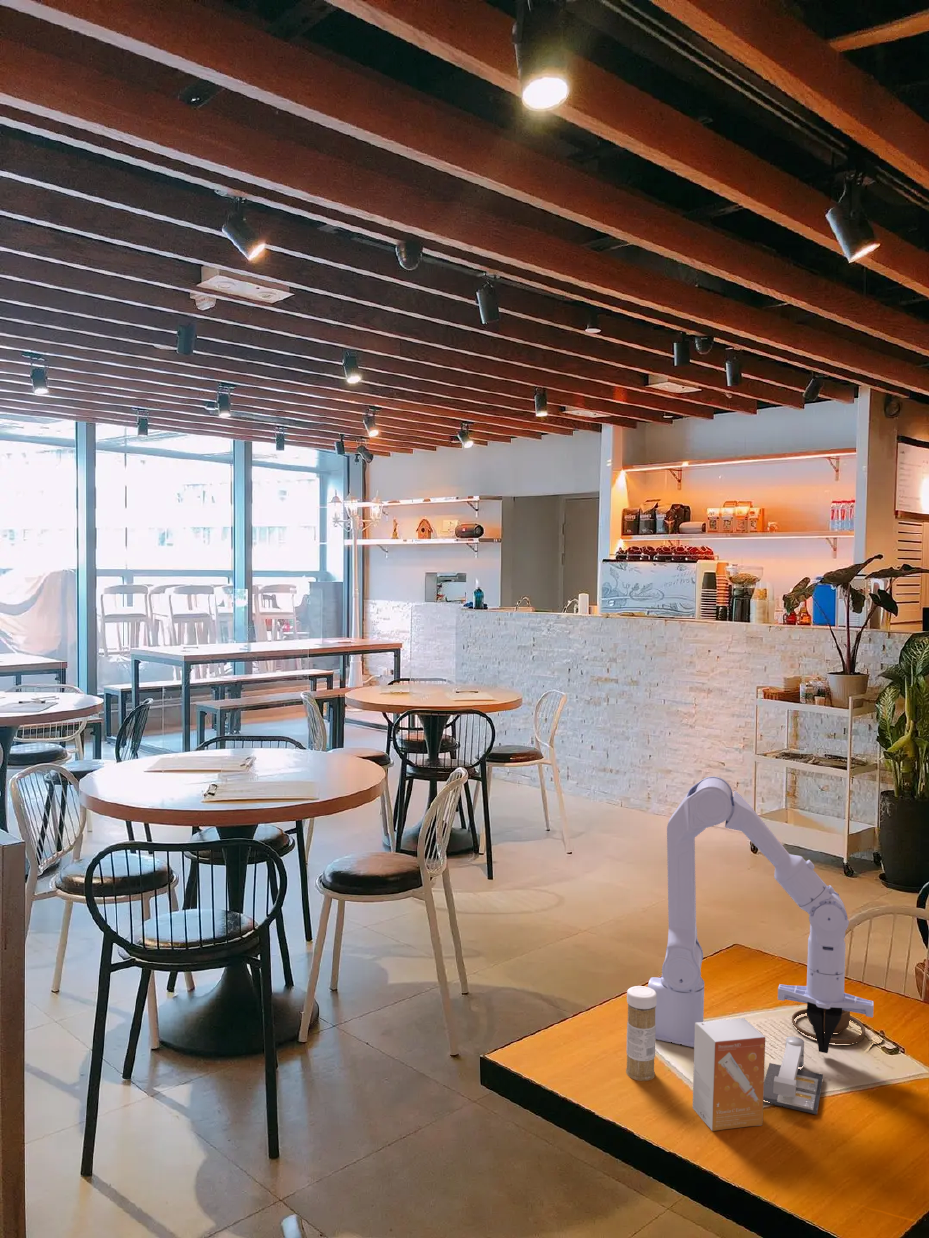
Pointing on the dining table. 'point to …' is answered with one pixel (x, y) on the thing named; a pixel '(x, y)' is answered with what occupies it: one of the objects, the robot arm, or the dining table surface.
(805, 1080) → the grey flat block
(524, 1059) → the dining table surface
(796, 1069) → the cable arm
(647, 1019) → the sprinkles bottle
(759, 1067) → the small box
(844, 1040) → the place setting
